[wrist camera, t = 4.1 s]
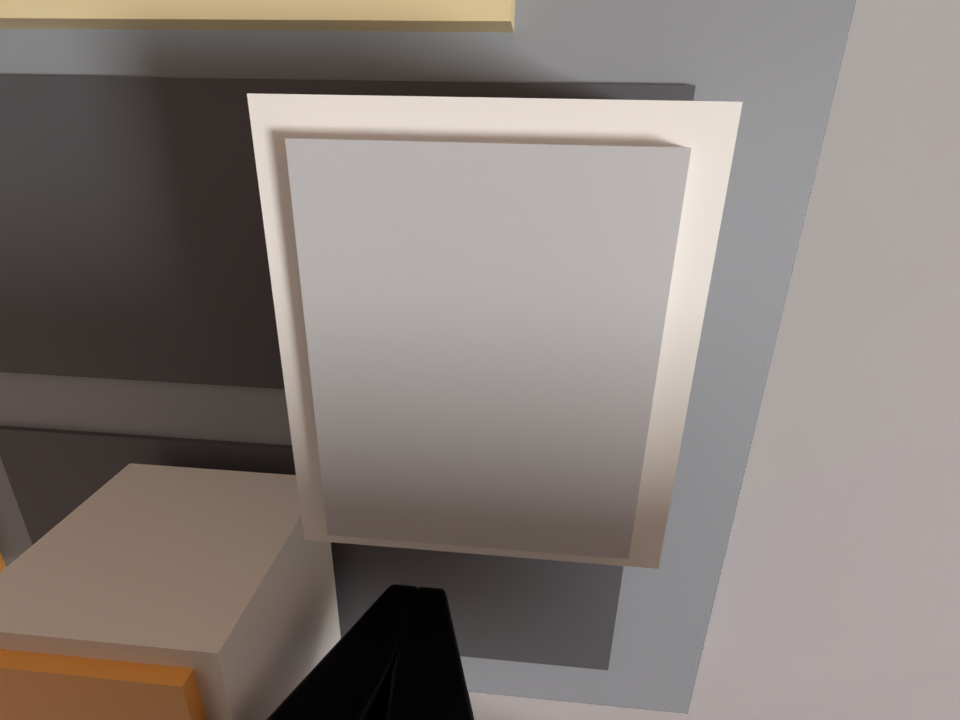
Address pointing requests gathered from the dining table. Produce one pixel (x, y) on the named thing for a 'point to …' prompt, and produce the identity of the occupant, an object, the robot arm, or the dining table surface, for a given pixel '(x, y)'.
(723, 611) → the dining table surface
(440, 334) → the toggle plain
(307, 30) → the breaker panel
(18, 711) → the white orange-topped block
